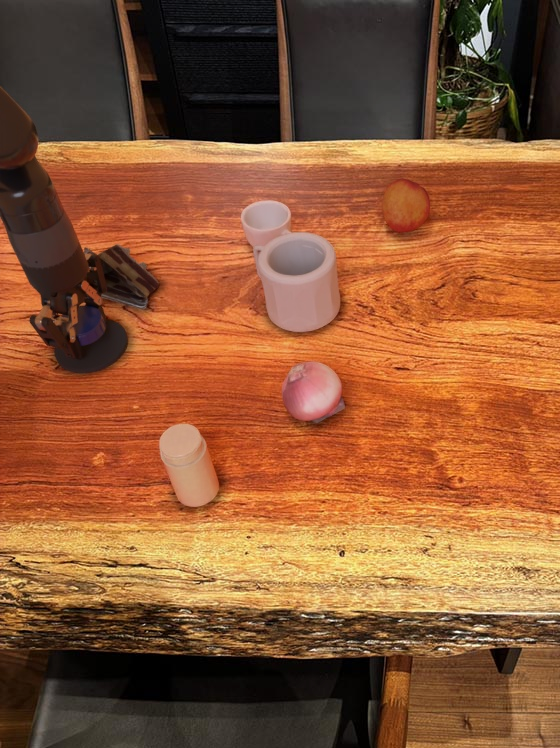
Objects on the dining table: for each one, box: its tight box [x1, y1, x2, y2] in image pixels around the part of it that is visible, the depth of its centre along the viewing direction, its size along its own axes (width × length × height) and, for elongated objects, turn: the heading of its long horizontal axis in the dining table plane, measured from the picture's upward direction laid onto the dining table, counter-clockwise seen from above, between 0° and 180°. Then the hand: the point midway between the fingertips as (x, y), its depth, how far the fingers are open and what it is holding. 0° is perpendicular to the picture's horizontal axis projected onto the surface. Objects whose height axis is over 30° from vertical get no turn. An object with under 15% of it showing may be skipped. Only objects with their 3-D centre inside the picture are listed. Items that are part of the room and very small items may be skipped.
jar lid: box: [60, 304, 106, 346], centre depth 110 cm, size 6×6×2 cm
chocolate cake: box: [83, 243, 160, 310], centre depth 121 cm, size 10×7×12 cm
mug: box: [252, 231, 341, 333], centre depth 114 cm, size 14×11×10 cm
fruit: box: [381, 177, 431, 234], centre depth 126 cm, size 8×8×8 cm
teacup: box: [240, 199, 293, 248], centre depth 125 cm, size 10×8×5 cm
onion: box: [280, 360, 346, 424], centre depth 102 cm, size 8×8×7 cm
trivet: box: [53, 318, 129, 375], centre depth 113 cm, size 10×10×1 cm
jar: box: [158, 423, 220, 508], centre depth 93 cm, size 5×5×10 cm
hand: (88, 340), depth 112 cm, fingers closed on jar lid, 6 cm apart
